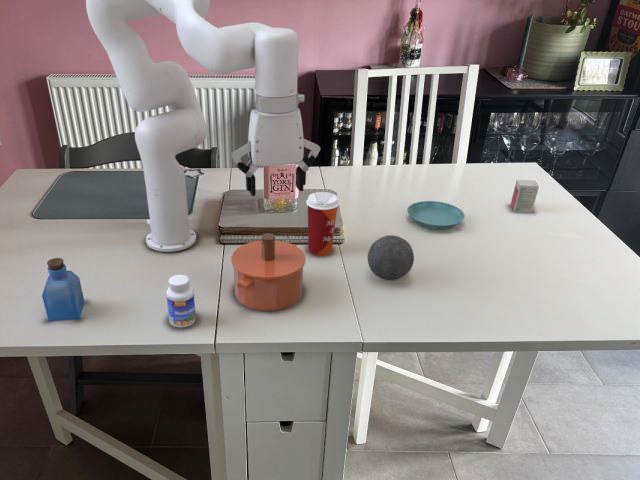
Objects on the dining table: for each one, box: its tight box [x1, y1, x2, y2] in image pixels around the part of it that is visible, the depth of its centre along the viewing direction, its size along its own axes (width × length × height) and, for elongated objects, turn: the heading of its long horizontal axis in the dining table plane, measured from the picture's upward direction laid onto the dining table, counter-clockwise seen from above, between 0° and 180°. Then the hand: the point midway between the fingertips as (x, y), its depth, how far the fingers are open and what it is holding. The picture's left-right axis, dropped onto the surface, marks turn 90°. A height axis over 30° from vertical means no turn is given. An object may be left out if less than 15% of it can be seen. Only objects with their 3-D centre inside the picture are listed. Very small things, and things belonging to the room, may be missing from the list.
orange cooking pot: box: [233, 242, 304, 312], centre depth 122 cm, size 15×20×8 cm
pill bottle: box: [165, 274, 197, 328], centre depth 113 cm, size 5×5×10 cm
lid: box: [230, 232, 306, 279], centre depth 118 cm, size 16×16×6 cm
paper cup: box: [305, 191, 340, 257], centre depth 136 cm, size 8×8×14 cm
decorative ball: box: [367, 234, 415, 281], centre depth 126 cm, size 10×10×10 cm
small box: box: [509, 179, 540, 213], centre depth 156 cm, size 5×4×8 cm
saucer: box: [406, 200, 466, 231], centre depth 151 cm, size 15×15×3 cm
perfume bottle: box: [41, 257, 85, 322], centre depth 115 cm, size 6×6×12 cm
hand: (275, 191), depth 112 cm, fingers open, 9 cm apart
